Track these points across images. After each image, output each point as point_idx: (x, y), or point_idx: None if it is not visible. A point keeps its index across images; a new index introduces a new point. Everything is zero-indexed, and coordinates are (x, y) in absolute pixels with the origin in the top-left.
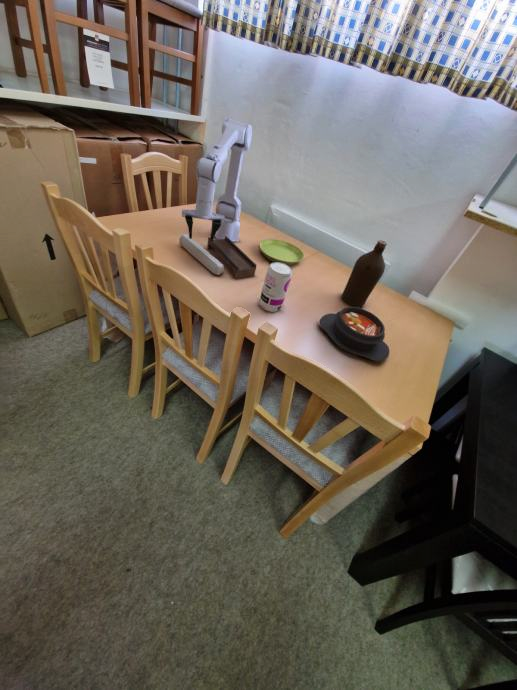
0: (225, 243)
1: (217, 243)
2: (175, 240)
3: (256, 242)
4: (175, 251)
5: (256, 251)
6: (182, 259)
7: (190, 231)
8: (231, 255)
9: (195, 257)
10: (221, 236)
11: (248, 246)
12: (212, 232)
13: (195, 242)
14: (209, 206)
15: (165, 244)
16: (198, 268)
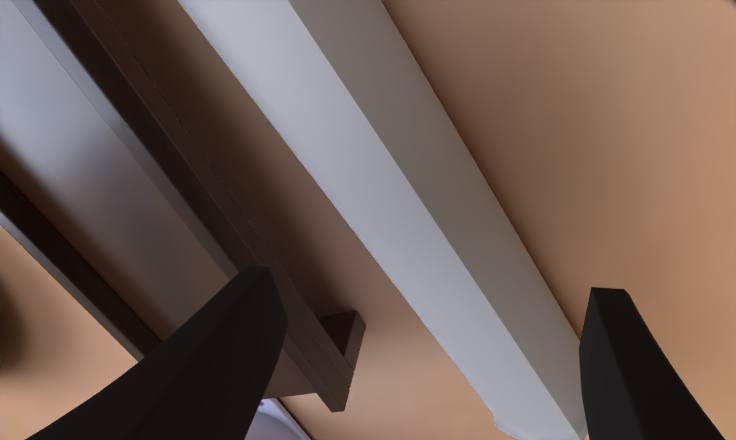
0: None
1: None
2: None
3: (69, 398)
4: (648, 282)
5: (36, 318)
6: (614, 162)
7: (669, 405)
8: (109, 180)
9: (482, 175)
10: (263, 437)
11: (99, 363)
12: (198, 389)
13: (469, 345)
14: None
15: (708, 366)
16: (466, 4)
